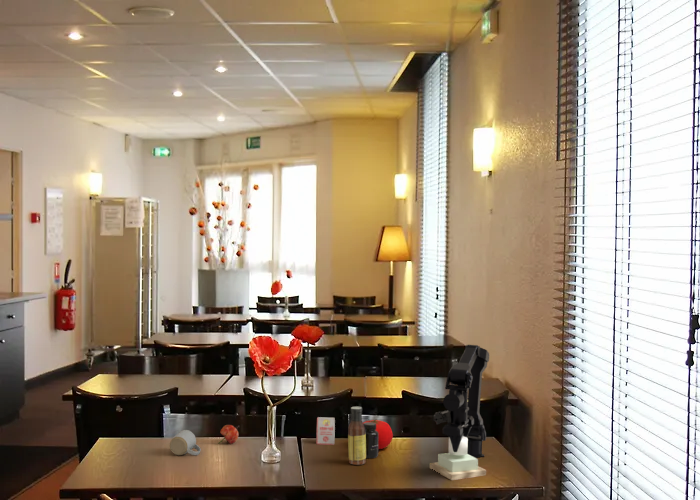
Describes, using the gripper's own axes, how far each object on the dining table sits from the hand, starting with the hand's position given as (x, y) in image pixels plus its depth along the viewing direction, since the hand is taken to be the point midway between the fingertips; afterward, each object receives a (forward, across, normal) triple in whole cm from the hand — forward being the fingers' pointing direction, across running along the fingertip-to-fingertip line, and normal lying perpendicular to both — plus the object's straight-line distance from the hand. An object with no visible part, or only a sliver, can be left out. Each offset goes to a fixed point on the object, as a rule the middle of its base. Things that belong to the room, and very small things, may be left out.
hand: (458, 449), depth 274 cm
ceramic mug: (+8, +25, -95) cm, 99 cm away
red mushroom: (+8, +7, -89) cm, 89 cm away
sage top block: (+6, 0, 0) cm, 6 cm away
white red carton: (+8, -11, -56) cm, 57 cm away
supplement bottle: (+8, -3, -34) cm, 35 cm away
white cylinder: (+1, 0, 0) cm, 1 cm away
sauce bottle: (+8, +7, -35) cm, 36 cm away
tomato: (+8, -14, -37) cm, 40 cm away
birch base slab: (+8, 0, 0) cm, 8 cm away
